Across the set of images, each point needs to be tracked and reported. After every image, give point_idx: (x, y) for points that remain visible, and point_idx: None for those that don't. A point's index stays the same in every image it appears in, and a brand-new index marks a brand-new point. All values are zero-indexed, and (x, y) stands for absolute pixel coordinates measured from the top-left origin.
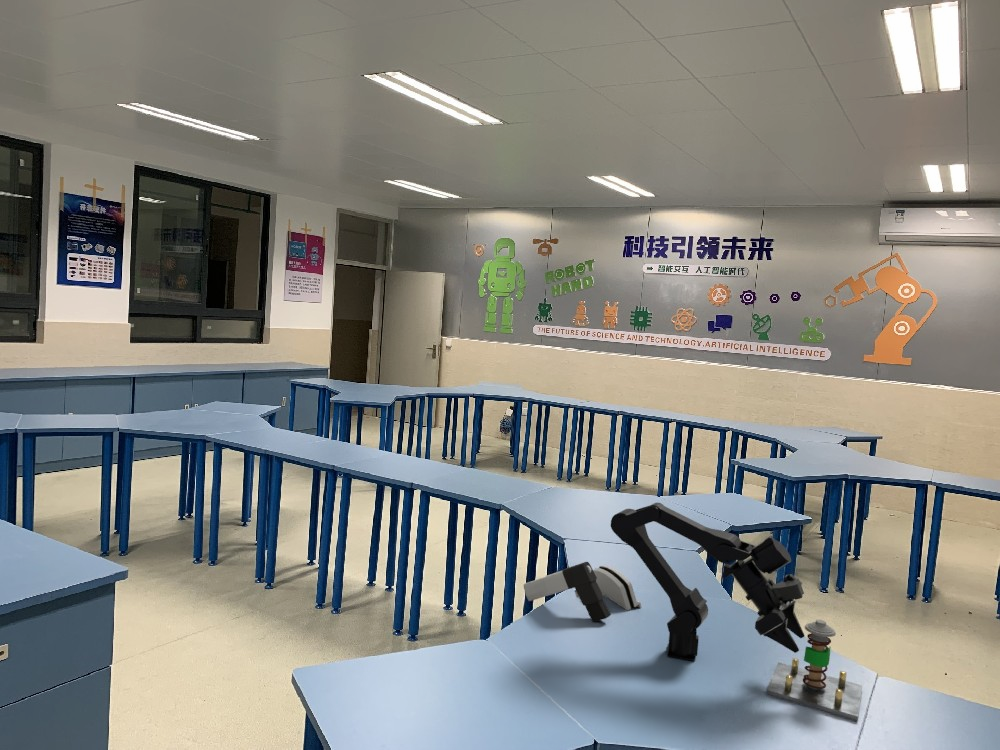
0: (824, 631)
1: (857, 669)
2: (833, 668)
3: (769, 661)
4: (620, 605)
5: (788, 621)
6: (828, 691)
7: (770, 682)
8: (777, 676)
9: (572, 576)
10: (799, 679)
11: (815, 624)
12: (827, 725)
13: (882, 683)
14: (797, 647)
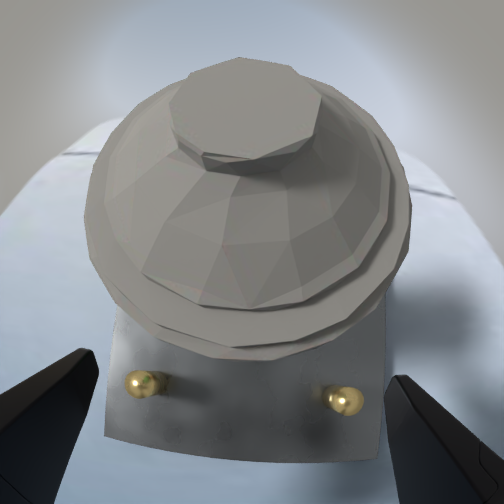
0: (363, 123)
1: (31, 194)
2: (41, 251)
3: (84, 454)
4: None
5: (32, 475)
6: None
7: (311, 460)
8: (237, 443)
9: None
10: (212, 364)
11: (314, 188)
12: (440, 263)
13: (89, 140)
14: (416, 386)
